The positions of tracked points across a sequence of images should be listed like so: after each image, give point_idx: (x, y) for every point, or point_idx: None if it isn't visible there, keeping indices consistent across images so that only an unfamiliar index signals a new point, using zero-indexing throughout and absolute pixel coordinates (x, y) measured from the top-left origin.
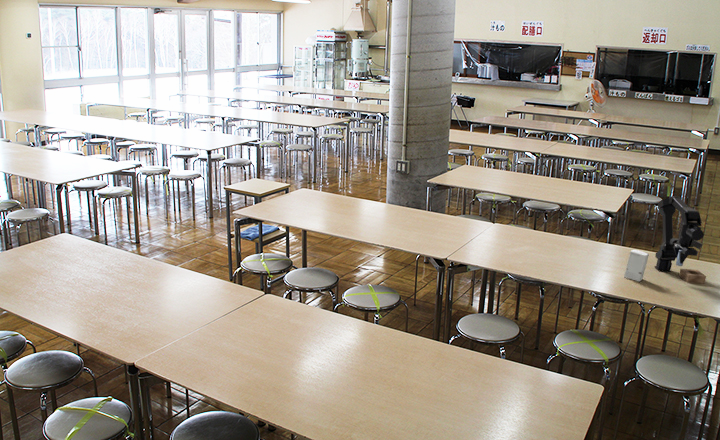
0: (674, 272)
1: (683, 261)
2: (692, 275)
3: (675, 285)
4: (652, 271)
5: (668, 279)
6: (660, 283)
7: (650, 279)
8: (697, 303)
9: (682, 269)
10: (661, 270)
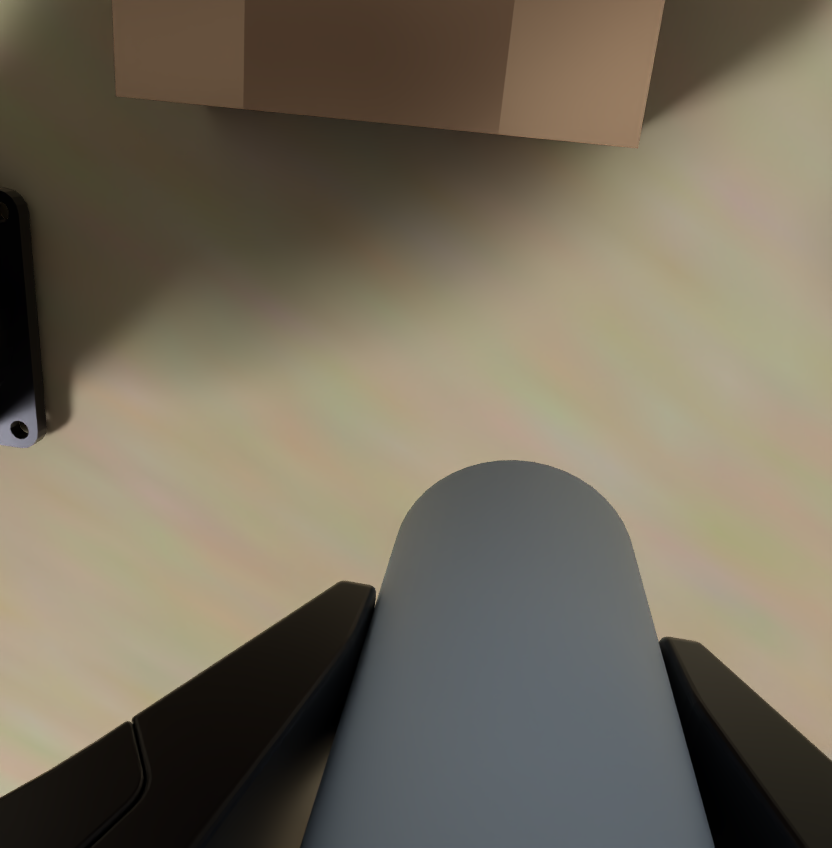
0: (18, 102)
1: (766, 727)
2: (660, 15)
3: (778, 537)
4: (80, 566)
5: None
6: None
7: None
8: None
9: (171, 68)
10: (26, 402)
